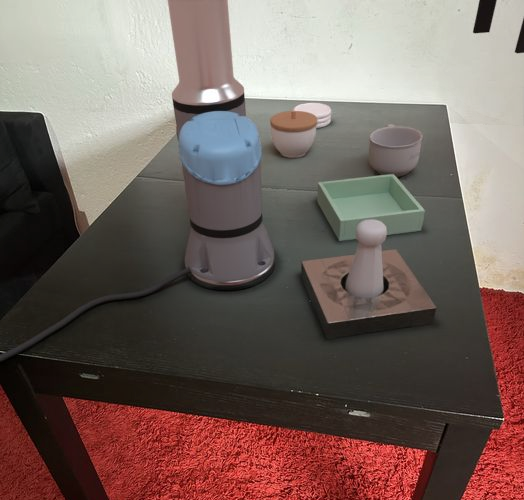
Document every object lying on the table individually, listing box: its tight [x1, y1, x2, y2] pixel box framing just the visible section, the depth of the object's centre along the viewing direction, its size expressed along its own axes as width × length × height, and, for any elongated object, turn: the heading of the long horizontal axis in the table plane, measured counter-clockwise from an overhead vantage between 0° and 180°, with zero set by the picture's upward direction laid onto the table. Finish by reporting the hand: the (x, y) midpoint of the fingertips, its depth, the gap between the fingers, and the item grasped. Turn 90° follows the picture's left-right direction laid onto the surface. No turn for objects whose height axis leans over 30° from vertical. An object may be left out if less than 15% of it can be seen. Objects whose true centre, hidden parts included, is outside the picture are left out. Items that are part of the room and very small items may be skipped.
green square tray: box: [316, 174, 426, 242], centre depth 100 cm, size 16×16×4 cm
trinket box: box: [269, 110, 318, 159], centre depth 121 cm, size 11×11×9 cm
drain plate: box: [300, 248, 437, 340], centre depth 81 cm, size 16×16×3 cm
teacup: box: [368, 123, 424, 178], centre depth 113 cm, size 14×11×8 cm
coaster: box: [292, 102, 332, 129], centre depth 137 cm, size 10×10×4 cm
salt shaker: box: [344, 219, 388, 298], centre depth 77 cm, size 6×6×13 cm
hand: (501, 42), depth 86 cm, fingers open, 13 cm apart
